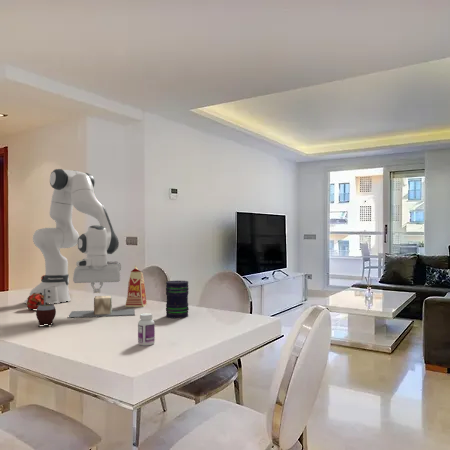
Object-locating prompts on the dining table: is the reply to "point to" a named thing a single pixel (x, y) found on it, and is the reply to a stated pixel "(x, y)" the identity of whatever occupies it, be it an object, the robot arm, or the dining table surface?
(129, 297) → the milk carton
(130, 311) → the mat
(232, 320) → the dining table surface
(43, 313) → the mate gourd
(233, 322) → the dining table surface
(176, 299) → the navy striped can
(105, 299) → the block
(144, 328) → the pill bottle
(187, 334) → the dining table surface
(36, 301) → the dragon fruit
